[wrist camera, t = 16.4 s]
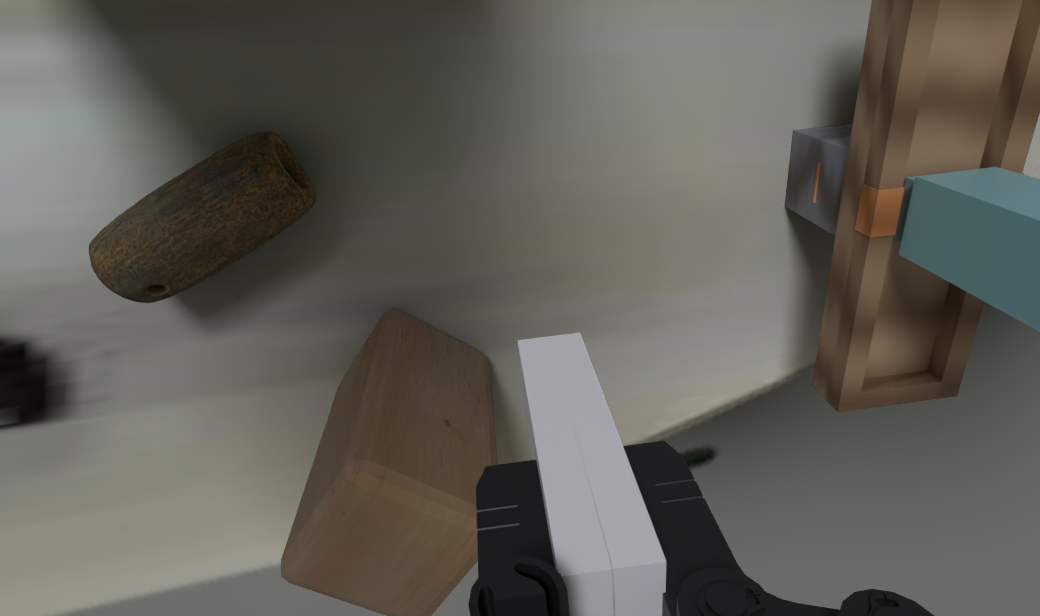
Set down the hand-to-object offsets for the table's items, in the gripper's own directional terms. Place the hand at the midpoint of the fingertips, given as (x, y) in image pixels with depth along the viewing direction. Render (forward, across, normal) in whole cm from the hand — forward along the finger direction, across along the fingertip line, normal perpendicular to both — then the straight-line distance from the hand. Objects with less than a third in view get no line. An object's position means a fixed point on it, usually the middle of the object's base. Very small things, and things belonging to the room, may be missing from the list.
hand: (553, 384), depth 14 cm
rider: (+22, +27, -5) cm, 35 cm away
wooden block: (+33, -9, -19) cm, 39 cm away
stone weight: (+33, -20, -3) cm, 39 cm away
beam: (+32, +27, -5) cm, 42 cm away
